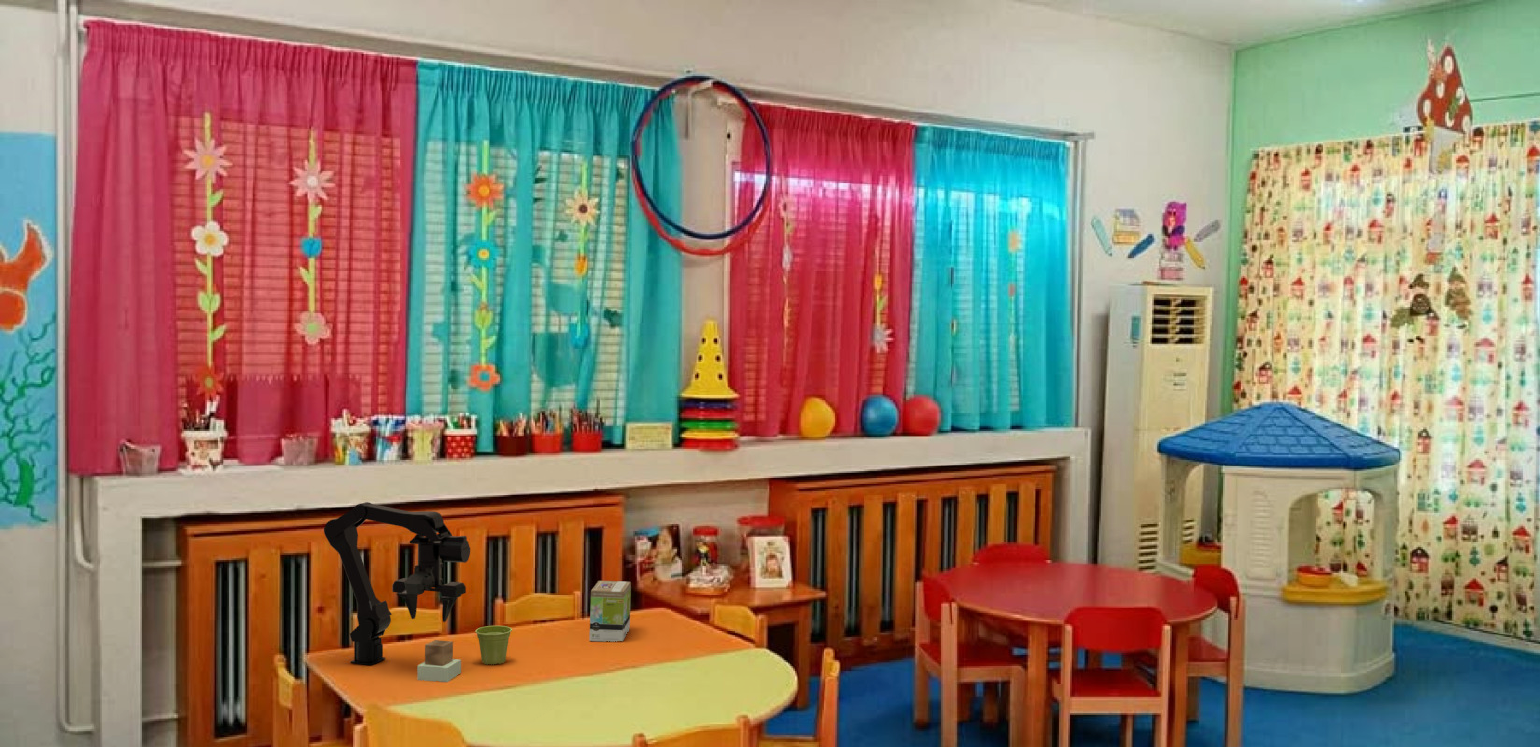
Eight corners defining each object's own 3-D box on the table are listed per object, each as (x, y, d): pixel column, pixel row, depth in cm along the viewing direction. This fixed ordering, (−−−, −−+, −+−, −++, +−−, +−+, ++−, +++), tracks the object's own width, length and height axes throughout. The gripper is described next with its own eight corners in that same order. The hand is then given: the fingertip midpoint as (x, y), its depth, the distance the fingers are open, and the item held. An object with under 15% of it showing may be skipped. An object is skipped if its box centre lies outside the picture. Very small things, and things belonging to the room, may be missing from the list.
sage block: (417, 681, 321) (417, 665, 321) (431, 673, 329) (431, 657, 329) (447, 683, 320) (447, 667, 319) (460, 675, 327) (461, 659, 327)
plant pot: (503, 668, 333) (503, 635, 333) (469, 665, 335) (469, 632, 335) (517, 658, 343) (517, 626, 342) (484, 656, 344) (484, 624, 344)
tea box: (624, 642, 362) (624, 590, 361) (588, 642, 362) (589, 590, 361) (630, 630, 377) (631, 580, 376) (596, 629, 377) (597, 579, 376)
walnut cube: (424, 664, 322) (425, 644, 322) (435, 659, 327) (435, 640, 327) (442, 666, 321) (442, 646, 321) (452, 661, 326) (452, 641, 326)
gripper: (380, 563, 328) (379, 624, 329) (444, 568, 323) (443, 630, 323) (404, 556, 339) (404, 614, 340) (467, 561, 334) (466, 620, 334)
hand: (428, 620), depth 334 cm, fingers open, 9 cm apart
